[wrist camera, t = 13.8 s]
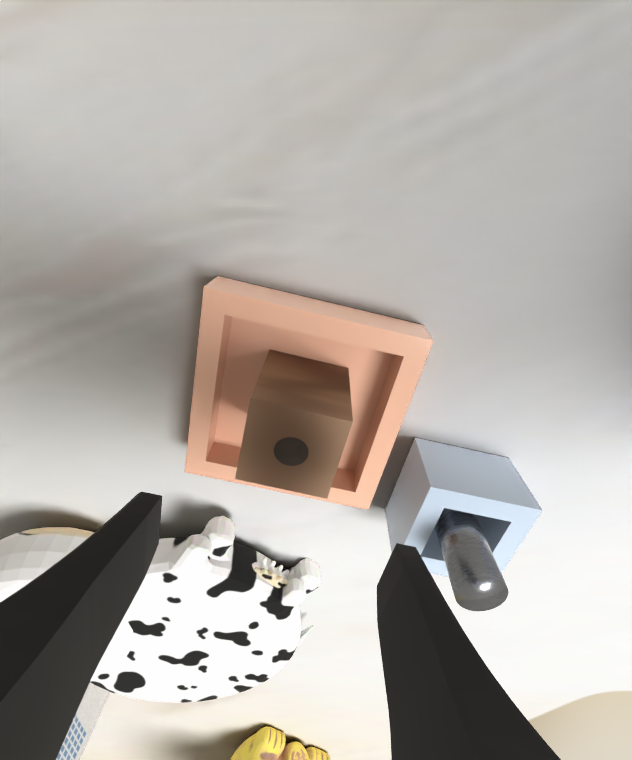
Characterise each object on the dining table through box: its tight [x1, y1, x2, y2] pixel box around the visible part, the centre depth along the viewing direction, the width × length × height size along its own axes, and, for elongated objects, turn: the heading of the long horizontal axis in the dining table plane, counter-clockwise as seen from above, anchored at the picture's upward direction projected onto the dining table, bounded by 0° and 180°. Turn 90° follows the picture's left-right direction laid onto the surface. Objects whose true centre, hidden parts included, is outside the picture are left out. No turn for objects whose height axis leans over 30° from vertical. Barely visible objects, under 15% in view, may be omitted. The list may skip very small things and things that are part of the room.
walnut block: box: [235, 349, 353, 499], centre depth 18 cm, size 4×4×5 cm
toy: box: [0, 516, 321, 703], centre depth 27 cm, size 22×5×20 cm
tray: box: [185, 276, 433, 510], centre depth 20 cm, size 10×10×2 cm
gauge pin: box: [435, 508, 508, 611], centre depth 20 cm, size 2×2×7 cm
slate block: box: [385, 438, 542, 577], centre depth 21 cm, size 6×6×4 cm
